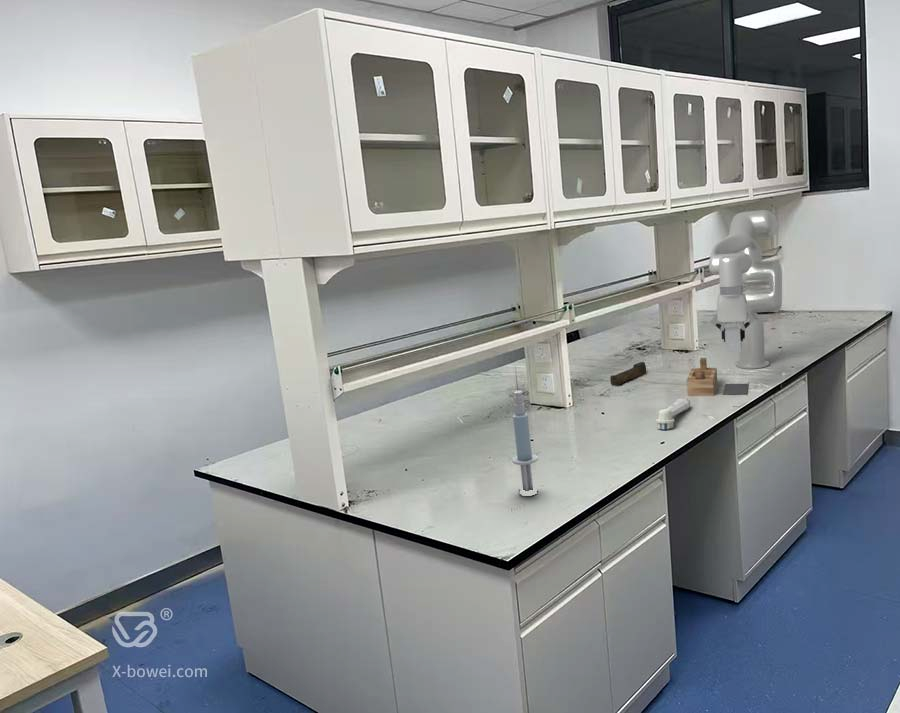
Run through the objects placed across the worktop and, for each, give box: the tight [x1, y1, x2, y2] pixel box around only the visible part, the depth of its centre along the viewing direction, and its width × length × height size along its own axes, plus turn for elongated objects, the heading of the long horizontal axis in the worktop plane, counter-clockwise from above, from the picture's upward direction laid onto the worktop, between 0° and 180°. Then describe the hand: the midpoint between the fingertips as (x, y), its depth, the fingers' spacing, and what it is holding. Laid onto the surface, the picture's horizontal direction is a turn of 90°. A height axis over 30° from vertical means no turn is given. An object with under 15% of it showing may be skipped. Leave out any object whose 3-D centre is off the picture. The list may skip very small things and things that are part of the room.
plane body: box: [686, 357, 718, 397], centre depth 264 cm, size 18×9×10 cm, turn 156°
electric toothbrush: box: [655, 397, 691, 430], centre depth 235 cm, size 5×7×25 cm
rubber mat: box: [722, 382, 749, 396], centre depth 260 cm, size 14×8×1 cm, turn 156°
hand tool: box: [609, 361, 647, 387], centre depth 292 cm, size 23×5×6 cm, turn 130°
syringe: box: [511, 367, 539, 491], centre depth 186 cm, size 6×7×36 cm
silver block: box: [724, 326, 742, 354], centre depth 256 cm, size 7×5×8 cm
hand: (733, 340), depth 256 cm, fingers closed on silver block, 5 cm apart
